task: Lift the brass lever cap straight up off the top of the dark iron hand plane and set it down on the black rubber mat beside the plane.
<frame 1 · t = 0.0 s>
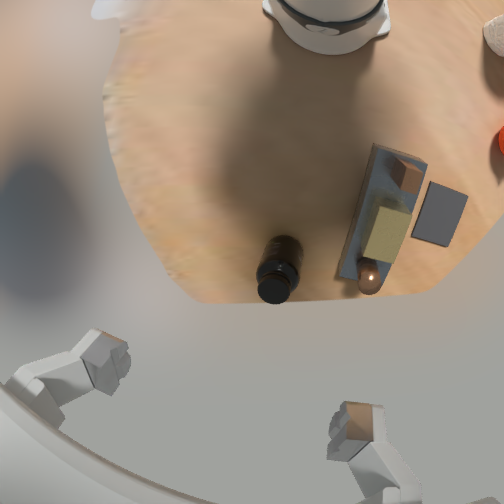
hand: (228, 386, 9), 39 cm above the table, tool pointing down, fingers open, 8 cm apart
white cup: (497, 39, 21), on the table
mat: (439, 214, 40), on the table
lever cap: (382, 224, 40), point 4 cm above the table, touching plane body
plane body: (378, 213, 43), on the table
supplement bottle: (284, 250, 51), on the table
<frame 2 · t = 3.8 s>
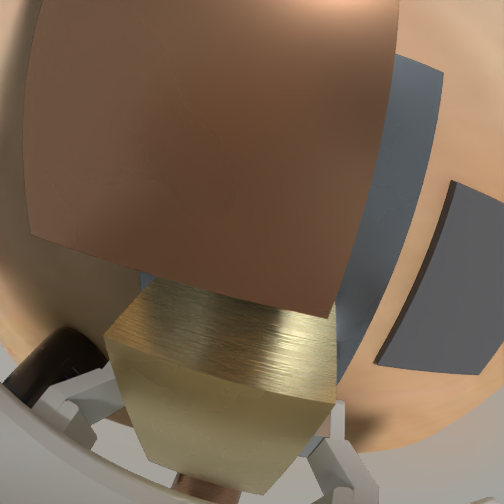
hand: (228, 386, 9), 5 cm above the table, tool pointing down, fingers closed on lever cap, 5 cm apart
mat: (474, 296, 11), on the table
lever cap: (238, 361, 10), point 4 cm above the table, touching gripper, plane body
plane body: (258, 302, 14), on the table
supplement bottle: (84, 353, 21), on the table
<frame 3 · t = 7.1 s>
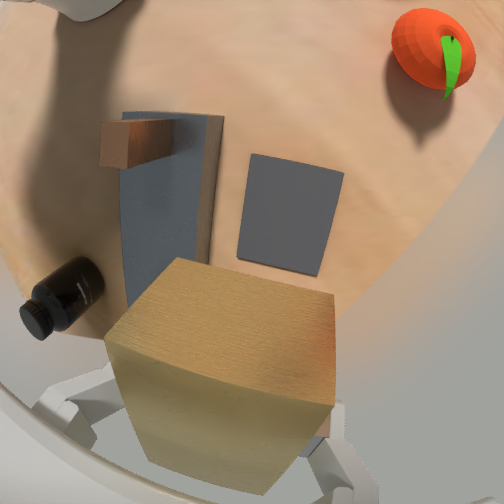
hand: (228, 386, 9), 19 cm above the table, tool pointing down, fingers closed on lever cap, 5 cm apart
mat: (287, 215, 26), on the table
lever cap: (237, 362, 10), point 17 cm above the table, touching gripper
clementine: (419, 62, 17), on the table
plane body: (174, 221, 29), on the table
supplement bottle: (88, 275, 36), on the table
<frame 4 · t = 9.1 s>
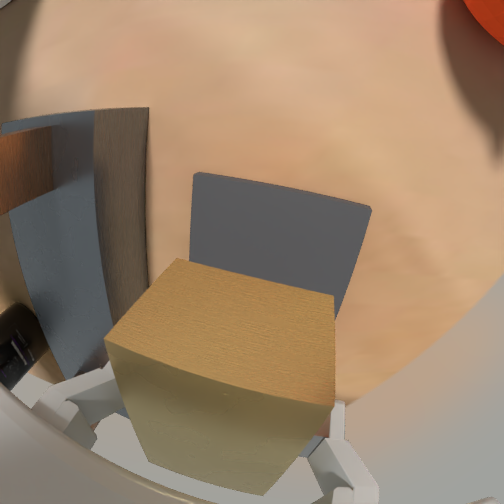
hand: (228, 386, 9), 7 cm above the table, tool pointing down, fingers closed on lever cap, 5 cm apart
mat: (266, 280, 15), on the table
lever cap: (237, 363, 10), point 5 cm above the table, touching gripper
clementine: (488, 17, 6), on the table
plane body: (100, 277, 18), on the table
supplement bottle: (32, 324, 25), on the table
when the fingers open (3 cm above the table, at t = 10.7 s): lever cap drops 1 cm, resting on mat.
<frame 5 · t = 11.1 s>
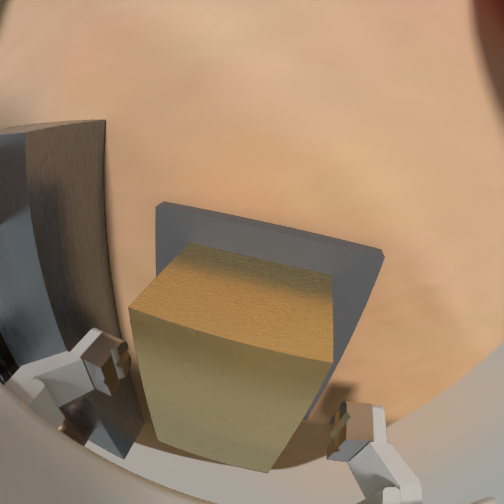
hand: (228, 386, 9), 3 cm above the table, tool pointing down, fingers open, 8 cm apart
mat: (249, 332, 12), on the table
lever cap: (244, 342, 12), point 1 cm above the table, touching mat
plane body: (70, 310, 15), on the table
supplement bottle: (13, 343, 22), on the table
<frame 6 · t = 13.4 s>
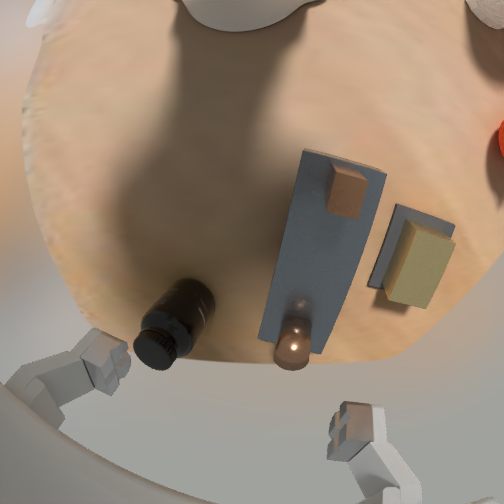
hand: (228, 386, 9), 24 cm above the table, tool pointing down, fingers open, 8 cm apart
white cup: (484, 7, 14), on the table
mat: (411, 253, 29), on the table
lever cap: (412, 256, 29), point 1 cm above the table, touching mat
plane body: (316, 253, 32), on the table
supplement bottle: (193, 297, 39), on the table
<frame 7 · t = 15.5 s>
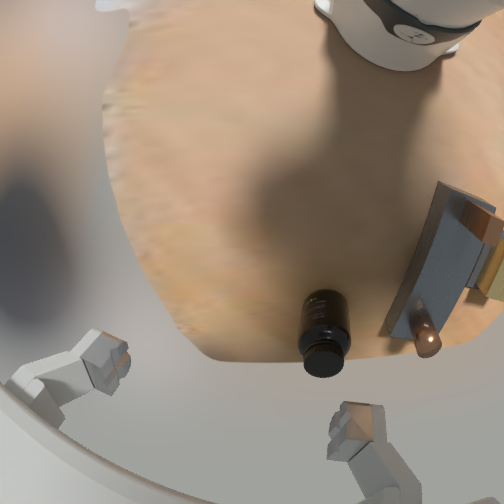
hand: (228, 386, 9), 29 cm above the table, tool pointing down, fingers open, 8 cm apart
mat: (494, 261, 32), on the table
lever cap: (495, 263, 31), point 1 cm above the table, touching mat
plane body: (435, 263, 34), on the table
supplement bottle: (325, 306, 41), on the table
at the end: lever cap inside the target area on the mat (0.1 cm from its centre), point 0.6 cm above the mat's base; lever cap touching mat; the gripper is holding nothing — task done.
